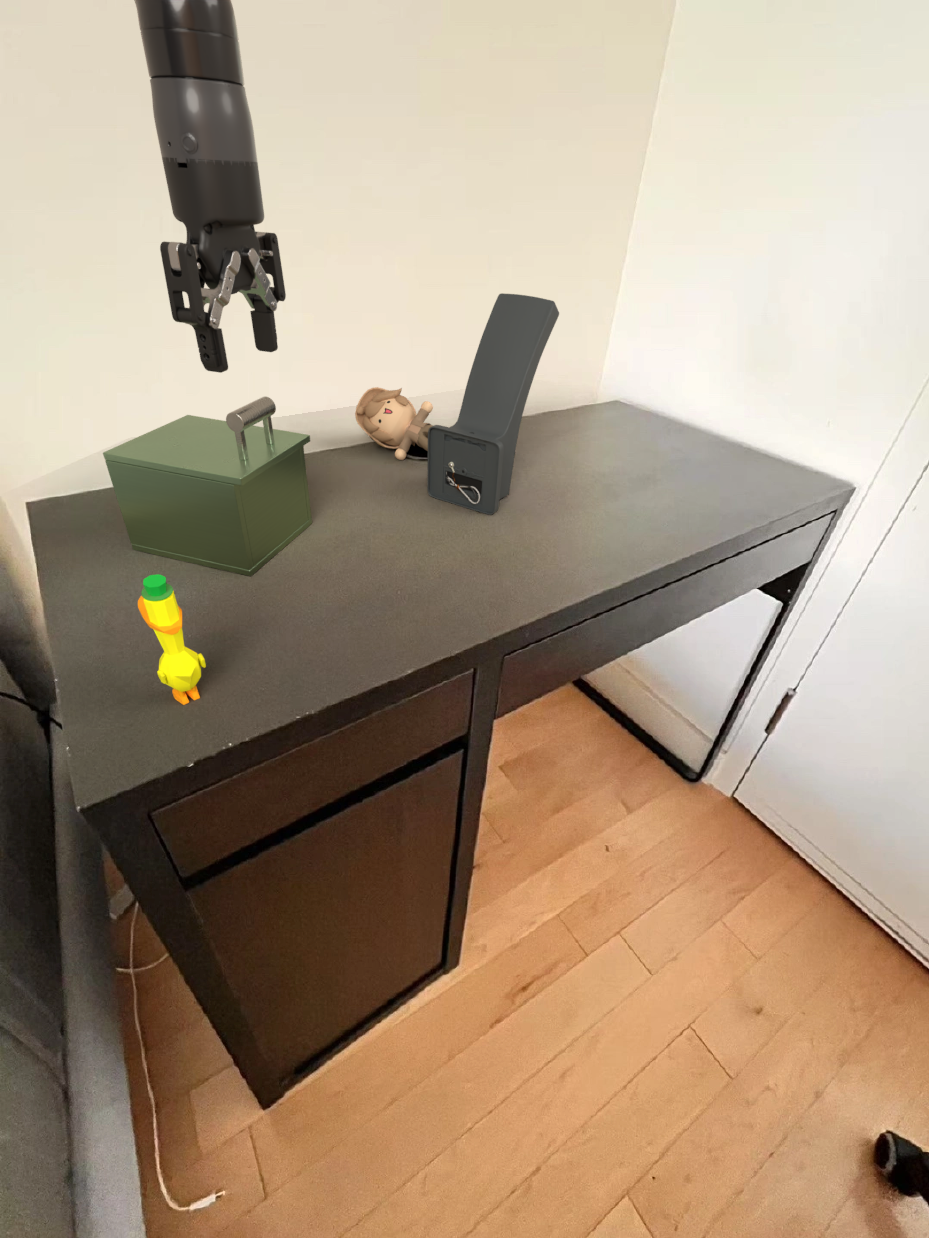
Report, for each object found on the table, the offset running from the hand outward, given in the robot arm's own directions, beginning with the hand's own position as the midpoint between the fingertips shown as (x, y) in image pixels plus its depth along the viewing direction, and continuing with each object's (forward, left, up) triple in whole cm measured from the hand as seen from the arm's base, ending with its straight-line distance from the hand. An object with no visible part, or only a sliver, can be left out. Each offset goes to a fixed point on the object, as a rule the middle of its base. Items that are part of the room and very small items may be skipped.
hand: (243, 360), depth 61 cm
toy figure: (-25, -7, -21) cm, 33 cm away
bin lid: (0, +6, -10) cm, 12 cm away
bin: (0, +6, -21) cm, 22 cm away
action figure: (+34, -3, -21) cm, 40 cm away
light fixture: (+27, -19, -21) cm, 39 cm away
